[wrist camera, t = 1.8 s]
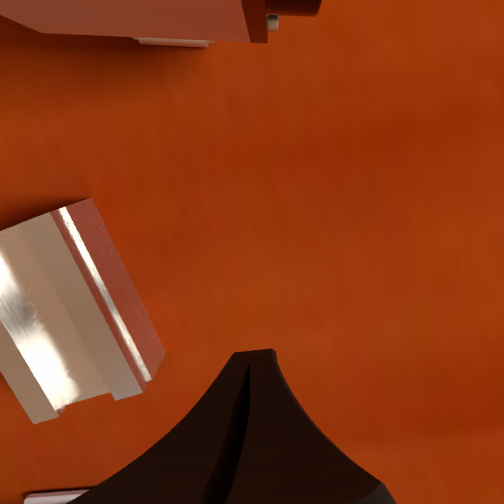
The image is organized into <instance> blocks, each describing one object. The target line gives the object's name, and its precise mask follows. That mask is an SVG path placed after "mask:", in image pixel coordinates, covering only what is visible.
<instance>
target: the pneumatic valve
mask: <svg viewBox="0 0 504 504" xmlns="http://www.w3.org/2000/svg"><path fill="white" fill-rule="evenodd" d="M321 2H322V0H0V22H2V23H4V24H6V25H9V26H11V27H14V28H16V29H18V30H21V31H23V32H34V33H55V34H77V35H98V36H120V37H132V39H136V40H139V43H140V44H146V45H167V46H188V47H209V44H210V43H215V41H228V42H249V43H267V41H268V31H274V32H277V31H278V22H279V15H285V16H307V17H315V16H316V15H317V14H318V12H319V9H320V6H321Z"/></svg>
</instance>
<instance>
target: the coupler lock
mask: <svg viewBox="0 0 504 504" xmlns="http://www.w3.org/2000/svg"><path fill="white" fill-rule="evenodd" d="M165 353H166V352H165V350H164V348H163V346H162V344H161V342H160V339H159V337H158V335H157V333H156V331H155V329H154V327H153V325H152V323H151V321H150V319H149V317H148V314H147V312H146V310H145V308H144V306H143V304H142V302H141V300H140V298H139V296H138V294H137V292H136V290H135V287H134V285H133V283H132V281H131V279H130V277H129V275H128V273H127V271H126V269H125V267H124V265H123V262H122V260H121V258H120V256H119V254H118V252H117V250H116V248H115V246H114V244H113V242H112V240H111V238H110V235H109V233H108V231H107V229H106V227H105V225H104V223H103V221H102V219H101V217H100V215H99V213H98V210H97V208H96V206H95V204H94V202H93V200H92V198H88V199H85V200H83V201H80V202H77V203H74V204H71V205H68V206H65V207H62V208H60V209H57V210H54V211H51V212H48V213H46V214H43V215H40V216H38V217H35V218H32V219H30V220H27V221H25V222H22V223H19V224H18V225H15V226H13V227H10V228H7V229H5V230H2V231H0V371H1V373H2V375H3V376H4V378H5V379H6V381H7V383H8V384H9V386H10V387H11V389H12V391H13V392H14V394H15V395H16V397H17V399H18V400H19V402H20V403H21V405H22V407H23V408H24V410H25V411H26V413H27V414H28V416H29V418H30V419H31V421H32V422H33V424H36V423H39V422H43V421H46V420H50V419H53V418H57V417H59V416H60V415H61V414H62V412H63V411H64V410H65V408H66V407H67V406H68V404H71V403H74V402H78V401H81V400H85V399H88V398H91V397H95V396H98V395H102V394H105V393H109V392H111V393H112V395H113V397H114V399H115V401H116V400H119V399H123V398H126V397H130V396H133V395H137V394H140V393H143V392H144V390H145V388H146V386H147V384H148V382H149V381H150V380H152V379H153V377H154V375H155V373H156V371H157V369H158V367H159V365H160V363H161V361H162V359H163V357H164V355H165Z"/></svg>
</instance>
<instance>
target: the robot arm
mask: <svg viewBox="0 0 504 504" xmlns="http://www.w3.org/2000/svg"><path fill="white" fill-rule="evenodd" d="M24 504H396V502H395V500H394V499H393V497H392V495H391V494H390V492H389V491H388V489H387V488H386V486H385V485H384V484H383V483H382V482H381V481H379V480H378V479H376V478H375V477H374V476H372V475H371V474H369V473H368V472H366V471H365V470H364V469H362V468H361V467H360V466H358V465H357V464H356V463H355V462H353V461H352V460H351V459H350V458H349V457H348V456H346V455H345V454H344V453H343V452H342V451H341V450H340V449H339V448H338V447H337V446H336V445H335V444H334V443H333V442H331V441H330V440H329V439H328V438H327V437H326V436H325V435H324V434H323V433H322V431H321V430H320V429H319V428H318V427H317V426H316V425H315V424H314V422H313V421H312V420H311V419H310V417H309V416H308V415H307V414H306V412H305V411H304V410H303V408H302V407H301V405H300V404H299V403H298V401H297V399H296V398H295V396H294V395H293V393H292V392H291V390H290V388H289V386H288V384H287V383H286V381H285V379H284V377H283V375H282V373H281V370H280V368H279V365H278V362H277V356H276V351H274V350H273V349H263V350H253V351H244V352H235V353H234V354H233V355H232V356H231V357H230V359H229V360H228V362H227V363H226V365H225V366H224V368H223V369H222V371H221V372H220V373H219V375H218V376H217V378H216V379H215V380H214V382H213V383H212V384H211V386H210V387H209V388H208V390H207V391H206V392H205V394H204V395H203V396H202V397H201V399H200V400H199V401H198V402H197V403H196V405H195V406H194V407H193V408H192V409H191V410H190V412H189V413H188V414H187V415H186V416H185V417H184V418H183V419H182V420H181V421H180V422H179V423H178V424H177V425H176V426H175V427H174V428H173V429H172V430H171V431H170V432H169V433H167V434H166V435H165V436H164V437H163V438H162V439H160V440H159V441H158V442H157V443H156V444H154V445H153V446H152V447H151V448H150V449H148V450H147V451H146V452H145V453H143V454H142V455H141V456H140V457H138V458H137V459H136V460H134V461H133V462H131V463H130V464H129V465H127V466H126V467H125V468H123V469H122V470H120V471H119V472H117V473H116V474H114V475H113V476H111V477H110V478H108V479H107V480H105V481H103V482H102V483H100V484H99V485H97V486H95V487H93V488H92V489H90V490H77V491H64V492H51V493H38V494H29V495H28V496H27V497H26V498H25V500H24Z"/></svg>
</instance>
